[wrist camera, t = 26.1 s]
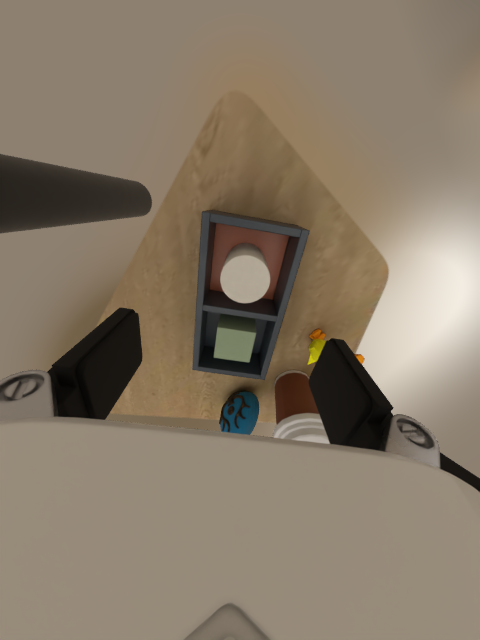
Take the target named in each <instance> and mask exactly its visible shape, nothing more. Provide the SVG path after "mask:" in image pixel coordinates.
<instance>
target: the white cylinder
mask: <svg viewBox="0 0 480 640" xmlns="http://www.w3.org/2000/svg"><path fill="white" fill-rule="evenodd" d="M220 283H221V287H222V289H223V291H224V293H225V294H226V295H227V296H228V297H229V298H230V299H232V300H234V301H236V302H239V303H251V302H254V301H257V300H258V299H260V298H261V297H262V296H264V294H265V293H266V292H267V290H268V288H269V285H270V273H269V270H268V267H267V264H266V261H265V258H264V255H263V253H262V251H261V250H260V249H259V248H258V247H257V246H255V245H253V244H251V243H241V244H238V245H236V246H234V247H233V248H232V249H231V250H230V252H229V253H228V255H227V258H226V261H225V263H224V266H223V269H222V272H221V276H220Z"/></svg>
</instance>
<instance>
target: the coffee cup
mask: <svg viewBox="0 0 480 640" xmlns="http://www.w3.org/2000/svg"><path fill="white" fill-rule="evenodd" d="M274 384H275V401H276V423H277V425H276V426H275V429H274V432H273V438H282V439H291V440H299V441H308V442H317V443H325V444H330V442H329V440H328V437H327V434H326V431H325V429H324V426H323V423H322V420H321V417H320V415H319V412H318V409H317V406H316V404H315V401H314V398H313V395H312V392H311V390H310V387H309V377H308V376H307V374H306V373H304V372H302V371H298V370H290V371H285V372H283V373H281V374H280V375H279V376H278V377H277V378H276V380H275V383H274Z"/></svg>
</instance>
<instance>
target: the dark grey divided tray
mask: <svg viewBox="0 0 480 640" xmlns="http://www.w3.org/2000/svg"><path fill="white" fill-rule="evenodd" d="M308 235H309V230H307V229H305V228H302V227H300V226H298V225H293V224H287V223H282V222H276V221H271V220H265V219H260V218H254V217H248V216H243V215H237V214H232V213H226V212H221V211H215V210H208V211H202V221H201V237H200V253H199V270H198V286H197V302H196V319H195V335H194V351H193V368H192V370H197V371H204V372H211V373H218V374H225V375H232V376H240V377H247V378H254V379H262V380H265V377H266V374H267V371H268V367H269V364H270V361H271V357H272V354H273V351H274V348H275V344H276V341H277V338H278V334H279V331H280V328H281V324H282V321H283V318H284V314H285V311H286V308H287V304H288V301H289V298H290V294H291V291H292V288H293V285H294V281H295V278H296V275H297V271H298V268H299V265H300V261H301V258H302V255H303V251H304V248H305V245H306V241H307V238H308ZM241 243H251V244H253V245H255V246H257V247H258V248H259V249H260V250H261V251H262V253H263V255H264V258H265V261H266V264H267V267H268V270H269V273H270V285H269V288H268V290H267V292H266V293H265V294H264V296H262V297H261V298H260V299H258V300H257V301H254V302H251V303H239V302H236V301H234V300H232V299H230V298H229V297H228V296H227V295H226V294H225V293H224V291H223V289H222V287H221V283H220V276H221V272H222V269H223V266H224V263H225V261H226V258H227V255H228V253H229V252H230V250H231V249H232V248H233V247H234V246H236V245H238V244H241ZM221 313H222V314H229V315H235V316H242V317H248V318H255V322H256V337H255V341H254V345H253V349H252V354H251V358H250V362H249V363H248V362H241V361H234V360H227V359H220V358H214V350H215V342H216V334H217V327H218V323H219V318H220V314H221Z"/></svg>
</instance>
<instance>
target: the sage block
mask: <svg viewBox="0 0 480 640" xmlns="http://www.w3.org/2000/svg"><path fill="white" fill-rule="evenodd" d="M255 337H256V322H255V318H248V317H242V316H235V315H229V314H222V313H221V314H220V318H219V323H218V327H217V334H216V342H215V350H214V358H220V359H227V360H234V361H241V362H248V363H249V362H250V358H251V354H252V349H253V345H254V341H255Z"/></svg>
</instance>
